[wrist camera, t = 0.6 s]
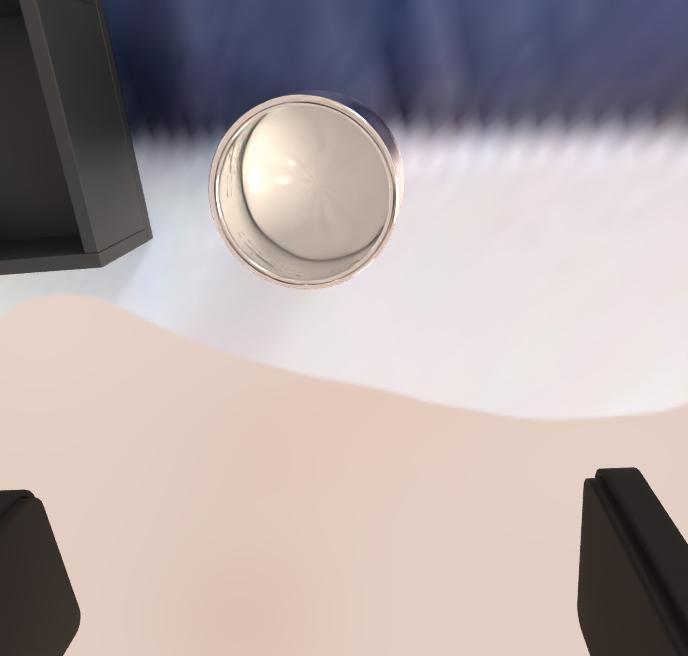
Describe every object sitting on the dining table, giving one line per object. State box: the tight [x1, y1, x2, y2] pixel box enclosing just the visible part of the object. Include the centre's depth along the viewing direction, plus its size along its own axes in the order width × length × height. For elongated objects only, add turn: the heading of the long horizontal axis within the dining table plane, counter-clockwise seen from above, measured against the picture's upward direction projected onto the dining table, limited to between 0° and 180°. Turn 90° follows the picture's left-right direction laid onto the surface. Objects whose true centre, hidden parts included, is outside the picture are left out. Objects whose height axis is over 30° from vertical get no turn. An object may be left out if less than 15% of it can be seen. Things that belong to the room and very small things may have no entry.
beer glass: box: [209, 89, 404, 289], centre depth 27 cm, size 7×7×15 cm
